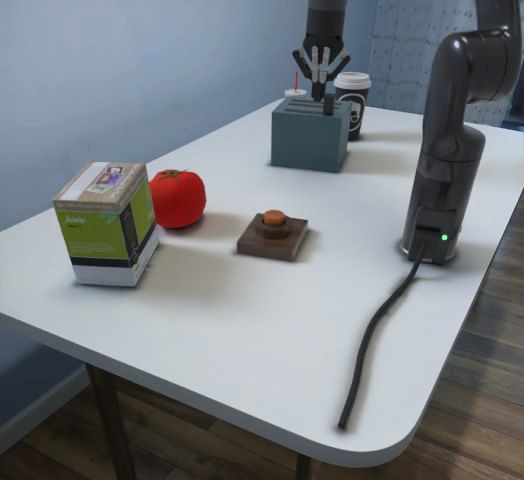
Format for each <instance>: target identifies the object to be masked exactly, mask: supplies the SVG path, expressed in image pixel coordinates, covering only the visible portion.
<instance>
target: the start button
mask: <svg viewBox="0 0 524 480" xmlns="http://www.w3.org/2000/svg"><path fill="white" fill-rule="evenodd" d="M263 214H264V224H265V225H267V226H271V227H278V226H282V225H284V215H285V213H284V212H283V211H282V210H279V209H270V210H266V211H265V212H264V213H263Z"/></svg>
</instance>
